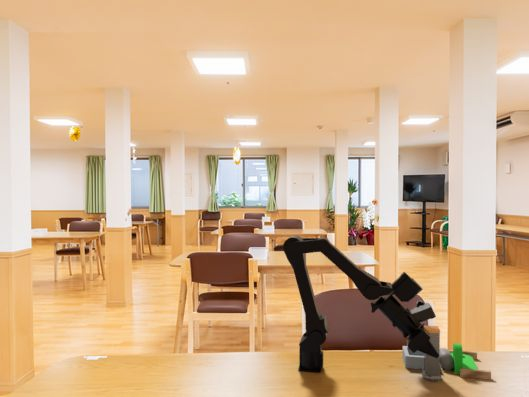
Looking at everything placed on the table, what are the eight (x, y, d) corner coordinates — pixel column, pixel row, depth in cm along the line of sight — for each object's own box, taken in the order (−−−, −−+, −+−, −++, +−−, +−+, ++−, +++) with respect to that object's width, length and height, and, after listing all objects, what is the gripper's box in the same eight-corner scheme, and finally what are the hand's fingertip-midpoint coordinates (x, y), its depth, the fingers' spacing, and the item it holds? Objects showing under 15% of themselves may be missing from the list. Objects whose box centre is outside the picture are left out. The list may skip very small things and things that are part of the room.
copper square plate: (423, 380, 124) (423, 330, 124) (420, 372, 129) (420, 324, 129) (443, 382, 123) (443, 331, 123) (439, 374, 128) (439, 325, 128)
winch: (405, 367, 133) (405, 354, 133) (402, 356, 141) (402, 344, 141) (455, 371, 130) (455, 358, 130) (449, 360, 139) (449, 347, 139)
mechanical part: (477, 376, 127) (478, 348, 127) (454, 374, 129) (455, 346, 128) (471, 361, 138) (471, 335, 138) (450, 359, 140) (450, 333, 140)
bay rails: (460, 376, 126) (460, 369, 126) (449, 356, 142) (449, 349, 142) (491, 379, 125) (491, 372, 125) (476, 358, 140) (476, 351, 140)
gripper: (421, 302, 117) (466, 347, 115) (413, 287, 135) (451, 325, 133) (390, 330, 119) (434, 375, 117) (386, 311, 137) (423, 350, 135)
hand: (436, 354), depth 126 cm, fingers closed on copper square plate, 4 cm apart
